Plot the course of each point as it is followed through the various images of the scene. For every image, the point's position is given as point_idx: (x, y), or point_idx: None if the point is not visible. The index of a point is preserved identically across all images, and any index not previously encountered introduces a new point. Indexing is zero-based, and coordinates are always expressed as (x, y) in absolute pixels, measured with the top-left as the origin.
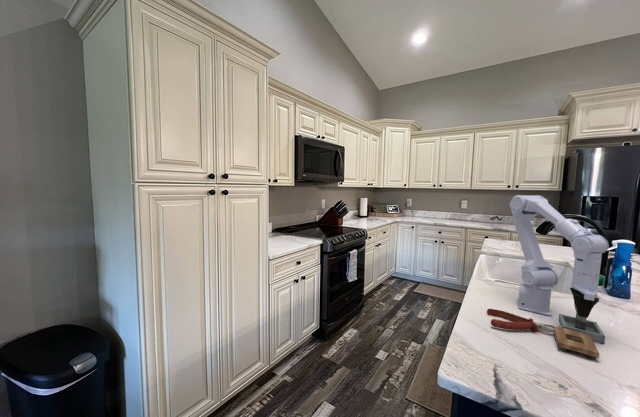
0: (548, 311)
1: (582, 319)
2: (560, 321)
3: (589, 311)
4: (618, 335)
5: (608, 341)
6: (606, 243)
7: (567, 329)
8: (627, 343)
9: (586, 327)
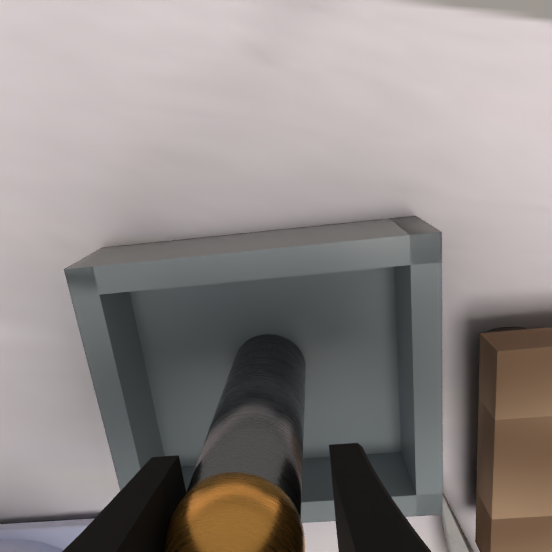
0: (45, 548)
1: (299, 437)
2: None
3: (405, 524)
4: (72, 80)
5: (310, 177)
6: None
7: (503, 493)
8: (222, 30)
9: (154, 317)
